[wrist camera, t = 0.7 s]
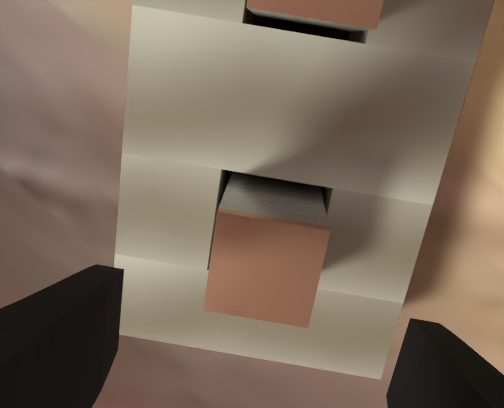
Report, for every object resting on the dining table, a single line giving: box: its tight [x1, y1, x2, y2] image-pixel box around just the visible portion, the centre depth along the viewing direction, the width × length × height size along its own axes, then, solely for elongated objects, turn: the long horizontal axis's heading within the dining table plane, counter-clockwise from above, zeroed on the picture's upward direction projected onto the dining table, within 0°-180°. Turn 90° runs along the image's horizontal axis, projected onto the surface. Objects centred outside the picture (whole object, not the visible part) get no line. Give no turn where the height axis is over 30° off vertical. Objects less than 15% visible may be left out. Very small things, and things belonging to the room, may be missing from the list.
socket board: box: [114, 0, 494, 379], centre depth 16 cm, size 18×10×4 cm, turn 171°
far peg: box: [203, 172, 330, 328], centre depth 15 cm, size 3×3×4 cm
